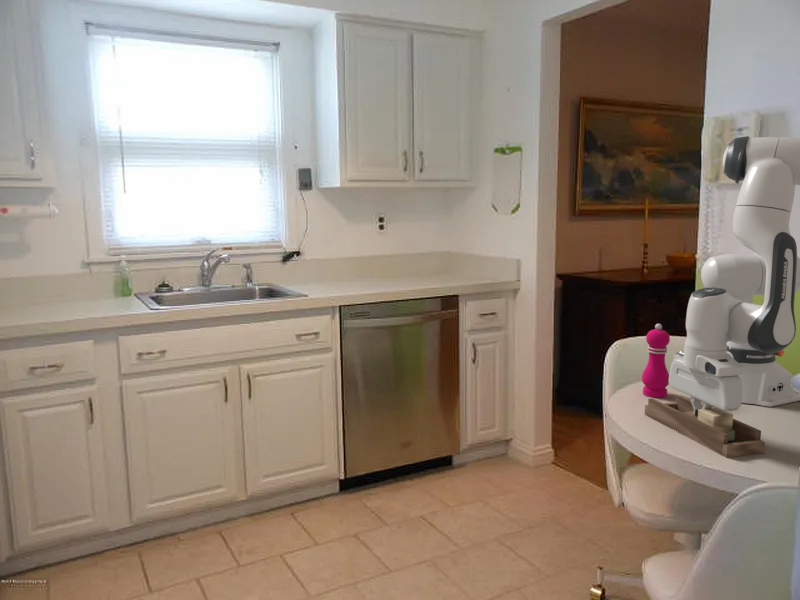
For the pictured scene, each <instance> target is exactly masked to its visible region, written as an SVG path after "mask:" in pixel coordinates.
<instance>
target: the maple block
mask: <svg viewBox="0 0 800 600" xmlns="http://www.w3.org/2000/svg"><path fill="white" fill-rule="evenodd" d="M733 419H734V414H733V413H730V411H724V410H722V409H720V408H717V407H712V408H708V409H698V420H699V421H701V422H703V423H706V424H708V425H710V426H712V427H714V428H716V429H718V430H720V431H722V432H724V433H726V432H732V425H733Z"/></svg>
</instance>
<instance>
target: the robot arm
mask: <svg viewBox="0 0 800 600" xmlns="http://www.w3.org/2000/svg"><path fill="white" fill-rule="evenodd" d="M722 167H723V168H722V169H723V173H724V174H725V176H726V177H727V178H728V179H729V180H732V181H734V182H735V184H737V185H738V184H739V183H740V182H742V183H741V186H740V189H739V192H738V196H737V200H736V203H735V208H734V212H733V216H732V232H733V234H734V236H735V238H736V239H737V240H738V241H739V243H740V244H742V245H743V246H744V247H746V248H747V249H749V250H751V251H753V252H754V253H725V254H719V255H715V256H714V255H713V256H711V257H709V258H708V259H706V260H705V262H704V263H703V266H702V267H701V270H700V271H701V272H700V278H701V283H702V285H703V286H704V287H703V288H700V289H697V290H695V291H693V292H692V293H691V294H690V297H689V299H688V303H687V309H686V315H685V316H686V317H685V330H686V338H685V341H684V347H683V351H681V350H678V351H677V352H676V353H675V354H673V360H672V362H671V364H670V369H669V385H668V386H669V388H671V389H674V390H676V391H678V392H681V393H683V394H685V395H687V396H690V400H691V403H692V406H693V408H694V412H693V415H694V416H696V417H698V409H708V408H719V409H722V410H724V411H726V412H733V411H737V410H739V409H740V407H741V406H742V404H748V405H749V404H751V405H758V406H762V407H769V408H770V407H775V406H780V405H785V404H790V403H794V402H799V401H800V394H799V393H798V392H799V391H798V390H796V389H795V390H794V389H793V387H792V386H791V378H792V377H794V375H793V373H791V372H790V371H788V369H786V368H784V366H782V365H781V363H779V362H777V359H776V356H778V357H783V356H784V355H785V350H784V349H785V348H787V347H788V346H790V344H792V342H793V340H794V339H795V337H796V331H797V329H796V327H797V326H796V325H797V324H796V315H795V300H796V299H795V298H796V296H795V295H796V293H797V292H799V291H800V256H798V248H797V241H796V239H795V238H794V236H792V235H791V232H790V219H791V214H792V209H793V205H794V199H795V194H796V193H795V192H796V186H800V138H797V137H789V136H779V137H778V136H755V137H750V136H738V137H735V138H734V139H732V140H731V141H729V144H728V146H727V147H726V149H725V151H724V153H723V156H722ZM753 296H764V297H763V298H764V299H763V300H764V301H763V304H762V305H761V304H758V303H757V304H755V303H754V302H753ZM797 391H798V392H797ZM702 405H703V407H702Z"/></svg>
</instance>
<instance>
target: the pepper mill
mask: <svg viewBox="0 0 800 600" xmlns="http://www.w3.org/2000/svg"><path fill="white" fill-rule="evenodd" d="M670 339H671V337H670V334H669V333H668V332H667V331H666V330H665V329H663V325H662V324H661V323H656V324H655V325H654V329H651V330H649V331H648V332H647V334H646V337H645V340H646V343H647V344H648V346H647V353H648V361H647V364H646V367H644V370H643V372H642V375H641V382H642V383H643V385H644V386H643V387H642V394H643V395H644V396H645V397H648V398H653V399H662V398H664V399H665V398H666V397H667V396H668V388H667V387H668V386H670V385H669V374H670V372H668V371H669V370H668V369H667V366H666V354H667V353H668V347H667V346H668V345H669V344H670V341H671V340H670Z"/></svg>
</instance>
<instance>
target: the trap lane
mask: <svg viewBox="0 0 800 600" xmlns="http://www.w3.org/2000/svg"><path fill="white" fill-rule="evenodd" d="M702 407H703V405H702ZM693 412H694V408H693V406H692V403H691V398H690V399H689V398H688V397H685V396H683V395H677V396H676V401H674V402H661V401H659V400H657V399H656V398H652V397H650V398H648V403H647V404H645V405H644V415H645V416H646V417H648V418H650V419H652V420H654V421H657V423H660V424H662V425H663V426H665V425H666V426H665V427H667V426H668V427H667V428H669V427H670V428H669V429H671V428H672V430H673V429H674V431H675V430H676V431H675V432H677V431H678V432H677V433H679V434H681V435H683V436H684V435H685V437H686V436H687V438H688V437H689V439H690V438H691V439H690V440H691V441H692V440H693V441H694V440H695V441H694V442H696V441H697V442H696V443H698V444H700V445H702V446H703V447H705V446H706V447H705V448H707V447H708V448H707V449H709V448H710V449H709V450H711V451H714V452H715V453H717V454H719V455H720V456H722V457H725V458H733V457H734V458H735V457H741V456H750V455H758V454H764V453H765V446H766V442H765V441H764V440H762V438H761V437H762V436H761V435H762V430H761V429H758V428H756V427H753V426H752V425H749V424H748V423H747V424H746V423H744V422H742V421H739V419H738V420H737V419H735V418H733V425H732V432H726V433H724V432H722V431H720V430H718V429H716V428H714V427H712V426H710V425H708V424H706V423H703V422H701V421H699V420H698V417H696V416H694V415H693Z"/></svg>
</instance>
